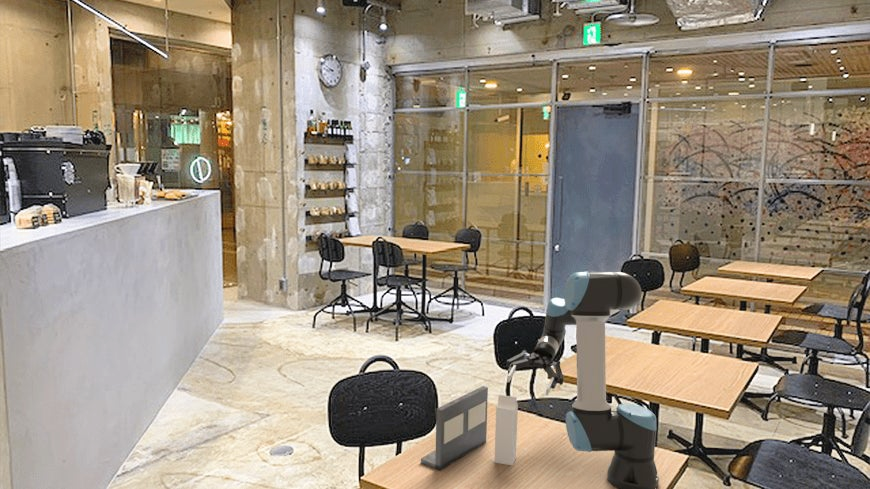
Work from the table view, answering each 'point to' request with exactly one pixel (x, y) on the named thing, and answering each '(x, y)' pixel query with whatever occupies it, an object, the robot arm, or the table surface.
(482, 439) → the label panel
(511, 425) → the milk
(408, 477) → the table surface
